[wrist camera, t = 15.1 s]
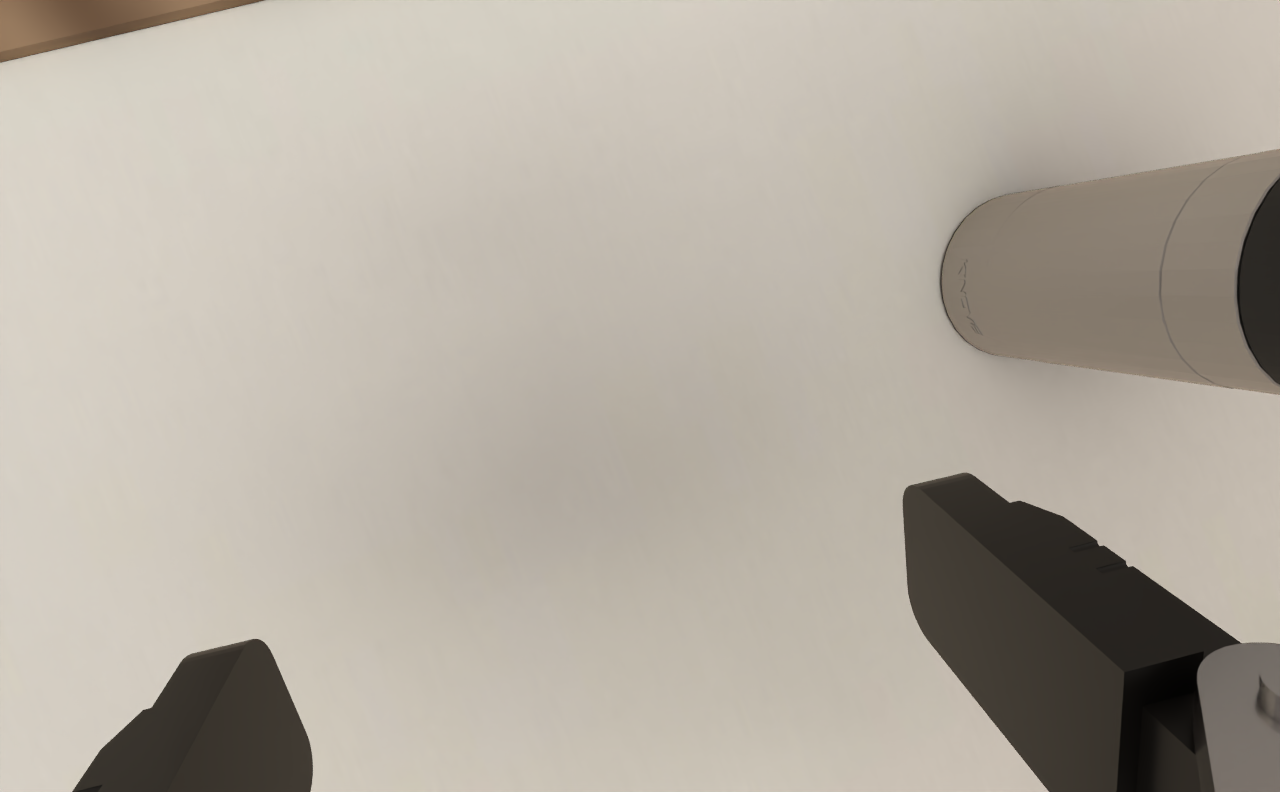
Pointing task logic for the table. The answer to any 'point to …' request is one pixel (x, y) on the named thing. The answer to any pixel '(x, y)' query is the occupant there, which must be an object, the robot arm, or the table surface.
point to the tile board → (88, 20)
